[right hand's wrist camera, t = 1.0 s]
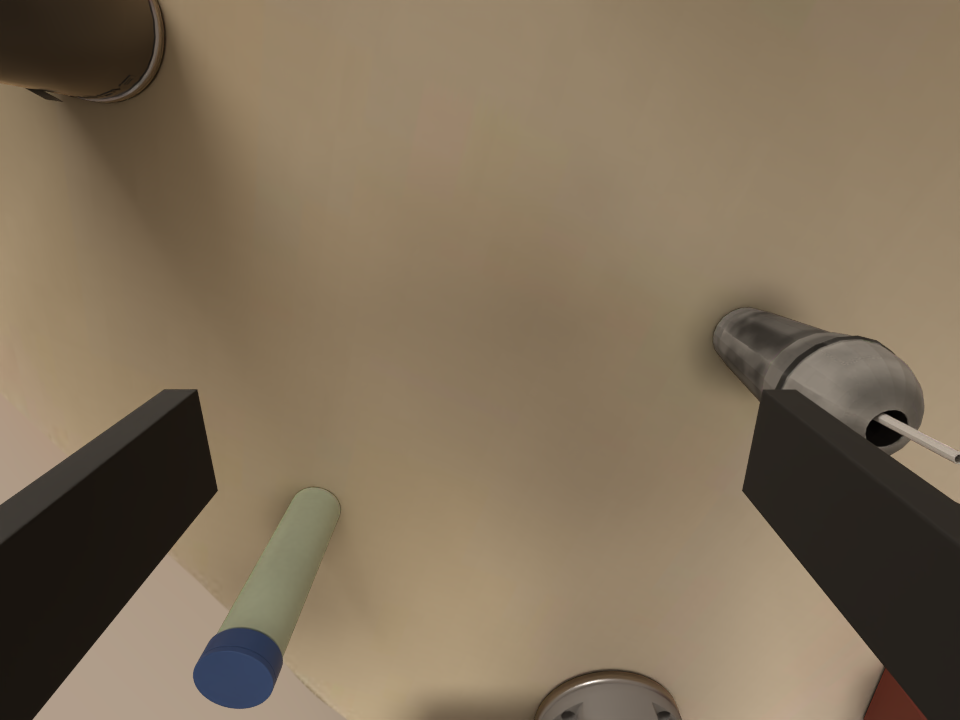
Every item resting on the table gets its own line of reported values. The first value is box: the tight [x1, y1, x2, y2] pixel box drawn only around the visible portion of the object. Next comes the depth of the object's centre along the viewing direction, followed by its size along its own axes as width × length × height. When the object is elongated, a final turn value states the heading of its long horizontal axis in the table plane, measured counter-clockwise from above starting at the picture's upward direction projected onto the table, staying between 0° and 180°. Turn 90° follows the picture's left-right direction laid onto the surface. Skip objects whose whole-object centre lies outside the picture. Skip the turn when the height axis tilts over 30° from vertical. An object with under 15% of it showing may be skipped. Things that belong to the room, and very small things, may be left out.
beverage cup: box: [713, 308, 960, 464], centre depth 31 cm, size 7×7×20 cm
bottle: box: [217, 487, 341, 657], centre depth 39 cm, size 4×4×16 cm
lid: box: [193, 628, 283, 709], centre depth 32 cm, size 5×5×2 cm
